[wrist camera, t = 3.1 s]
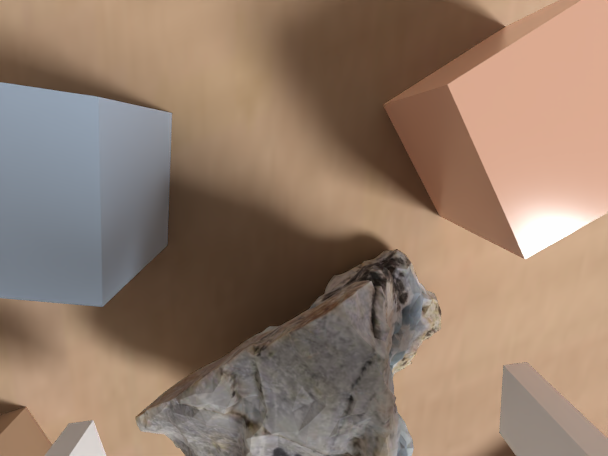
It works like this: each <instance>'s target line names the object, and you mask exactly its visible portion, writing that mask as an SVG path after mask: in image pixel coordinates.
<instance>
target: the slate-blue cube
mask: <svg viewBox="0 0 608 456" xmlns="http://www.w3.org/2000/svg"><path fill="white" fill-rule="evenodd" d="M171 128H172V113H169V112H165V111H160V110H156V109H151V108H147V107H142V106H138V105H133V104H129V103H124V102H120V101H115V100H111V99H106V98H102V97H96V96H90V95H83V94H76V93H70V92H63V91H56V90H49V89H43V88H36V87H29V86H23V85H16V84H9V83H2V82H0V298H6V299H17V300H29V301H40V302H52V303H63V304H75V305H86V306H98V307H103V306H104V305H105V304H106V303H107V302H108V301H109V300H110V299H111V298H113V297H114V296H115V295H116V294H117V293H118V292H119V291H120V290H121V289H122V288H123V287H124V286H125V285H126V284H127V283H128V282H129V281H130V280H131V279H133V278H134V277H135V276H136V275H137V274H138V273H139V272H140V271H141V270H142V269H143V268H144V267H145V266H146V265H147V264H148V263H149V262H150V261H151V260H152V259H154V258H155V257H156V256H157V255H158V254H159V253H160V252H161V251H162V250H163V249H164V248H165V247H166V246H167V245H168V218H169V188H170V158H171Z"/></svg>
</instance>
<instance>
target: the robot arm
mask: <svg viewBox="0 0 608 456" xmlns="http://www.w3.org/2000/svg"><path fill="white" fill-rule="evenodd" d="M499 433H500V434H501V436H502V437H503V438H504V440H505V441H506V443H507V444H508V445H509V447H510V448H511V450H512V451H513V452H514V454H515V455H516V456H608V438H607V437H606V436H604V435H603V434H602V433H601V432H600V431H599V430H598V429H597V428H596V427H595V426H594V425H593V424H592V423H591V422H590V421H589V420H588V419H587V418H585V417H584V416H583V415H582V414H581V413H580V412H579V411H578V410H577V409H576V408H575V407H574V406H573V405H572V404H571V403H570V402H569V401H567V400H566V399H565V398H564V397H563V396H562V395H561V394H560V393H559V392H558V391H557V390H556V389H555V388H554V387H553V386H552V385H551V384H550V383H548V382H547V381H546V380H545V379H544V378H543V377H542V376H541V375H540V374H539V373H538V372H537V371H536V370H535V369H534V368H533V367H532V366H530V365H529V364H528V363H527V362H524V363H516V364H509V365H503V380H502V397H501V414H500V431H499ZM45 456H106V453H105V451H104V448H103V445H102V443H101V440H100V437H99V434H98V432H97V429H96V426H95V424H94V421H93V420H91V421H84V422H76V423H69V424H68V425H67V427H66V428H65V429H64V431H63V432H62V433H61V434H60V436H59V437H58V438H57V440H56V441H55V442H54V444H53V445H52V446H51V448H50V449H49V450H48V452H47V453H46V454H45Z"/></svg>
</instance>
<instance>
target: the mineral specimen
mask: <svg viewBox="0 0 608 456" xmlns="http://www.w3.org/2000/svg"><path fill="white" fill-rule="evenodd" d="M440 329H441V310H440V307H439V304H438V301H437V299H436V296H435V294H434V293H432V292H429V291H426V289H425V288H424V286H423V285H422V284H420V283H419V281H418V278H417V275H416V272H415V270H414V267H413V265H412V263H411V262H410V260H409V259H408V257H407V256H406V255H405V254H404V253H402V252H401V251H399V250H398V249H396V250H394V251H384V252H382V253H381V254H380V255H378V256H377V257H376V258H375V259H372V260H367V261H364V262H363V263H362V264H360V265H358V266H356V267H354V268H352V269H351V270H349V271H347V272H345V273H343V274H340V275H334V276H333V277H332V279H331V280H330V281H329V283H328V285H327V287H326V289H325V293H324V295H322V296H320V297H318V298H317V300H316V301H315V302H314V303H313V304H312V305H311V307H310V308H309V309H308V310H307V311H305V312H303V313H301V314H300V315H298V316H296V317H295V318H293V319H291V320H290V321H288V322H286V323H284V324H282V325H281V326H269V327H268V328H266V329H265V330H264V331H263V332H261V333H259V334H256V335H254V336H252V337H251V338H249V339H248V340H246V341H245V342H243V343H242V344H240V345H239V346H238V347H236V348H235V349H233V350H232V351H231V352H229V353H228V354H227V355H225V356H224V357H222V358H220V359H219V360H217V361H214V362H212V363H210V364H208V365H206V366H204V367H203V368H201V369H199V370H197V371H195V372H193V373H192V374H190V375H188V376H187V377H185V378H184V379H182V380H181V381H179V382H178V383H177V384H175V385H174V386H172V387H171V388H170V389H168V390H167V391H165V392H164V393H163V394H162V395H161V396H159V397H158V398H157V399H156V400H155V401H154V402H153V403H151V404H150V405H149V406H148V407H147V408H146V409H144V410H143V411H142V412H141V413H140V414H139V415H138V416H136V417H135V418H136V422H137V425H138V427H139V429H140V431H144V432H150V433H157V434H165V435H166V436H167V437H169V438H170V439H171V440H172V441H173V442H174V444H175V446H176V447H178V448H180V449H181V450H182V452H183V453H184V454H185V455H186V456H412V453H413V449H414V447H413V440H412V438H411V436H410V434H409V432H408V429H407V427H406V424H405V422H404V420H403V419H402V418H401V416H400V415H399V414H398V412H397V407H396V404H395V400H396V397H395V396H394V385H393V376H394V373H396V372H398V371H400V370H402V369H404V368H405V367H406V366H408V365H410V364H412V362H411V360H412V359H413V357H414V356H415V355H416V351H417V349H418V348H419V346H420V345H421V343H422V341H423V340H426V339H428V338H430V337H431V336H432V335H433V334H434V333H435V332H437V331H439V330H440Z"/></svg>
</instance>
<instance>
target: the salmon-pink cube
mask: <svg viewBox="0 0 608 456" xmlns="http://www.w3.org/2000/svg"><path fill="white" fill-rule="evenodd" d="M383 106H384V108H385V110H386V112H387V114H388V116H389V118H390V120H391V122H392V124H393V125H394V127H395V129H396V131H397V133H398V135H399V137H400V139H401V141H402V143H403V145H404V147H405V149H406V151H407V153H408V155H409V157H410V159H411V161H412V163H413V165H414V167H415V169H416V171H417V173H418V175H419V177H420V179H421V181H422V183H423V184H424V186H425V188H426V190H427V192H428V194H429V196H430V198H431V200H432V202H433V204H434V206H435V208H436V210H437V212H438V214H439V216H441V217H443V218H445V219H447V220H449V221H451V222H453V223H455V224H456V225H458V226H460V227H462V228H464V229H466V230H468V231H470V232H472V233H474V234H476V235H478V236H480V237H482V238H484V239H486V240H488V241H490V242H492V243H494V244H496V245H498V246H500V247H502V248H504V249H506V250H508V251H510V252H512V253H514V254H516V255H518V256H520V257H522V258H524V259H526V258H528V257H530V256H532V255H533V254H535V253H537V252H539V251H540V250H542V249H544V248H546V247H548V246H549V245H551V244H553V243H555V242H556V241H558V240H560V239H562V238H563V237H565V236H567V235H569V234H571V233H572V232H574V231H576V230H578V229H579V228H581V227H583V226H585V225H587V224H588V223H590V222H592V221H594V220H595V219H597V218H599V217H601V216H603V215H604V214H606V213H608V0H559V1H557V2H555V3H553V4H551V5H548V6H546V7H544V8H542V9H540V10H538V11H536V12H534V13H532V14H530V15H528V16H526V17H524V18H522V19H520V20H518V21H516V22H514V23H512V24H510V25H508V26H506V27H504V28H503V29H501V30H499V31H498V32H496V33H495V34H493V35H492V36H490V37H488V38H487V39H485V40H484V41H482V42H481V43H479V44H477V45H476V46H474V47H473V48H471V49H470V50H468V51H466V52H465V53H463V54H462V55H460V56H459V57H457V58H455V59H454V60H452V61H451V62H449V63H448V64H446V65H444V66H443V67H441V68H440V69H438V70H437V71H435V72H434V73H432V74H430V75H429V76H427V77H426V78H424V79H423V80H421V81H419V82H418V83H416V84H415V85H413V86H412V87H410V88H408V89H407V90H405V91H404V92H402V93H401V94H399V95H397V96H396V97H394V98H393V99H391V100H390V101H388V102H386V103H385V104H383Z"/></svg>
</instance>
